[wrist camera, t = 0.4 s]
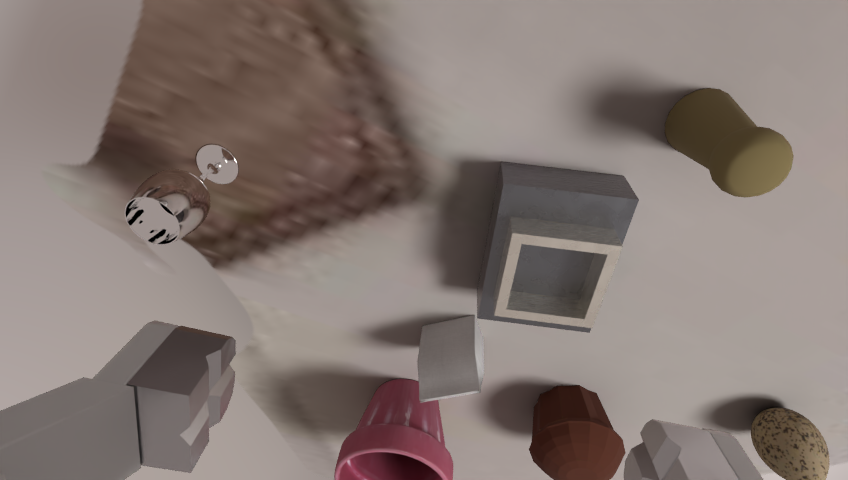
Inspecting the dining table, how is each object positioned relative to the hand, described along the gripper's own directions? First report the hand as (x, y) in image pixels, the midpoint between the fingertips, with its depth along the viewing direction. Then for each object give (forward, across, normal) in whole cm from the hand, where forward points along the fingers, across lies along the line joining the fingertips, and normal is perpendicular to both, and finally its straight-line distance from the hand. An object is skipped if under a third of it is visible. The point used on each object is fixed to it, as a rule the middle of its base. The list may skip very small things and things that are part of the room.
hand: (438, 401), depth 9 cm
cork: (+38, -23, -2) cm, 44 cm away
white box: (+42, -7, +28) cm, 51 cm away
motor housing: (+40, -13, +13) cm, 44 cm away
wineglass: (+40, +22, +12) cm, 48 cm away
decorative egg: (+42, -49, +31) cm, 71 cm away
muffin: (+43, -25, +38) cm, 62 cm away
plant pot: (+44, -3, +43) cm, 61 cm away
